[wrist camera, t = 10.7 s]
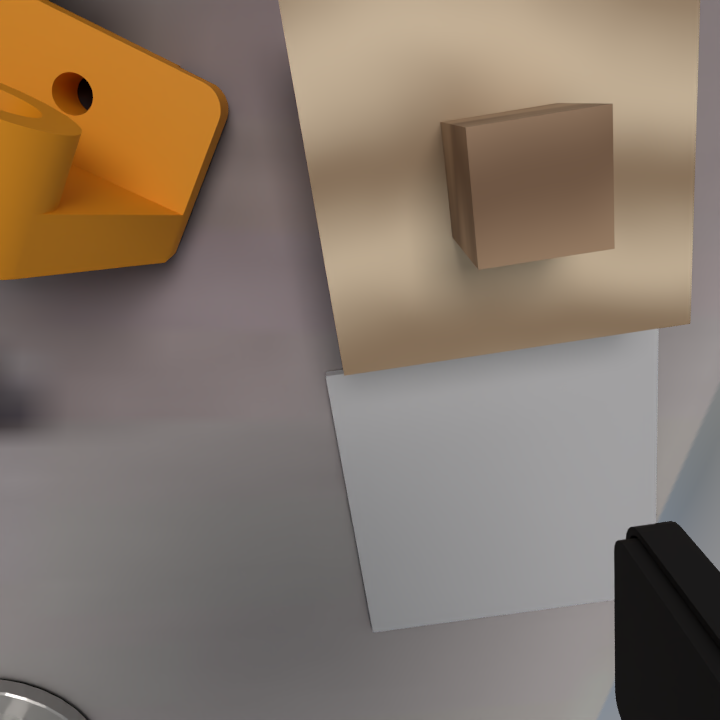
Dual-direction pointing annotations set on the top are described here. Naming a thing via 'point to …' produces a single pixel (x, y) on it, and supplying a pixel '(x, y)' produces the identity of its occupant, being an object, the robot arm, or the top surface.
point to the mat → (498, 476)
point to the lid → (497, 169)
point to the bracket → (95, 145)
